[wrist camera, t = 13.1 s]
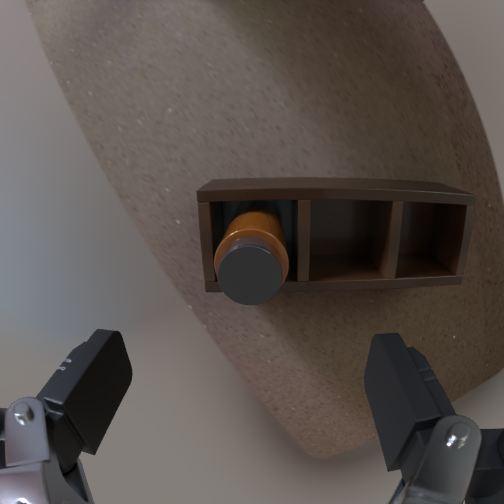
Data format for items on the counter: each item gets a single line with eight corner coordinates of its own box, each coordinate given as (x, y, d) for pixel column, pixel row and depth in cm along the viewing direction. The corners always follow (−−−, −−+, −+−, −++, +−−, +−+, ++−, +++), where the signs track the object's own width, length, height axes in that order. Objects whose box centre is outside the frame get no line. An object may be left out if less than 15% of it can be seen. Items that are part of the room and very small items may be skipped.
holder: (212, 179, 24) (196, 190, 19) (440, 183, 23) (475, 195, 18) (217, 262, 27) (205, 292, 21) (431, 259, 25) (461, 284, 20)
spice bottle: (231, 199, 24) (205, 238, 15) (282, 198, 24) (291, 237, 14) (233, 248, 25) (212, 312, 16) (283, 248, 25) (290, 312, 16)
